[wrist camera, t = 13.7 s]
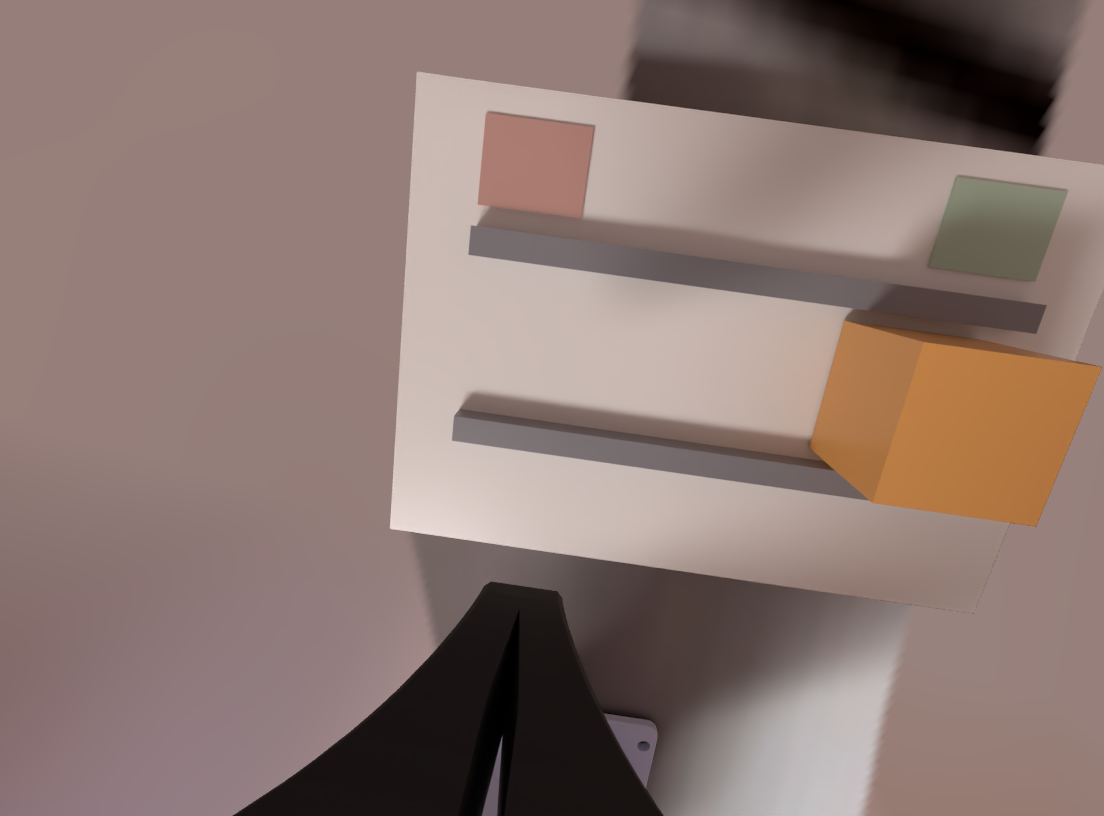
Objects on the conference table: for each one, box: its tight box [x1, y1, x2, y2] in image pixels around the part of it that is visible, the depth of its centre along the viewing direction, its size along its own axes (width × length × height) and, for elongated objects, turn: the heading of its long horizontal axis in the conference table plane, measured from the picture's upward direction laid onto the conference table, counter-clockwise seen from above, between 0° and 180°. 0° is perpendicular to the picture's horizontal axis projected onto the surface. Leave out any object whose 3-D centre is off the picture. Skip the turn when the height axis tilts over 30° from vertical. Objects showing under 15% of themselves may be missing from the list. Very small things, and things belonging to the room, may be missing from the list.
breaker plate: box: [390, 72, 1104, 614], centre depth 18 cm, size 14×20×3 cm
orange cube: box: [809, 321, 1102, 527], centre depth 15 cm, size 4×4×4 cm
